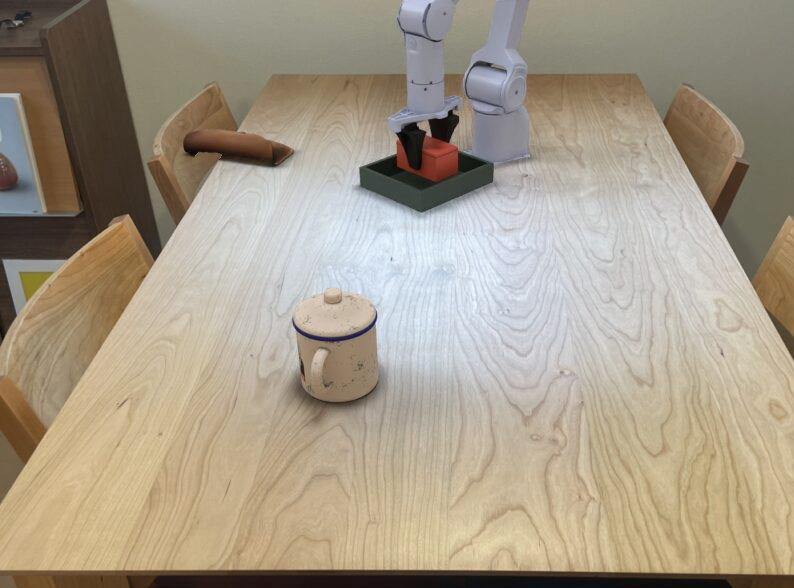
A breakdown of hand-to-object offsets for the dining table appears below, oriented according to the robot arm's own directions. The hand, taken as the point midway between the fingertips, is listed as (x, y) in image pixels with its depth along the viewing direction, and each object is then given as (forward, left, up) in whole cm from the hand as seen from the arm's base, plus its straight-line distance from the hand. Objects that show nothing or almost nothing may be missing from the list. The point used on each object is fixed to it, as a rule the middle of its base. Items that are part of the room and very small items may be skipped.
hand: (427, 163), depth 142 cm
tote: (0, 0, -4) cm, 4 cm away
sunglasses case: (+21, -30, -4) cm, 37 cm away
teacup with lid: (+36, +43, -4) cm, 56 cm away
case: (0, 0, -1) cm, 1 cm away
